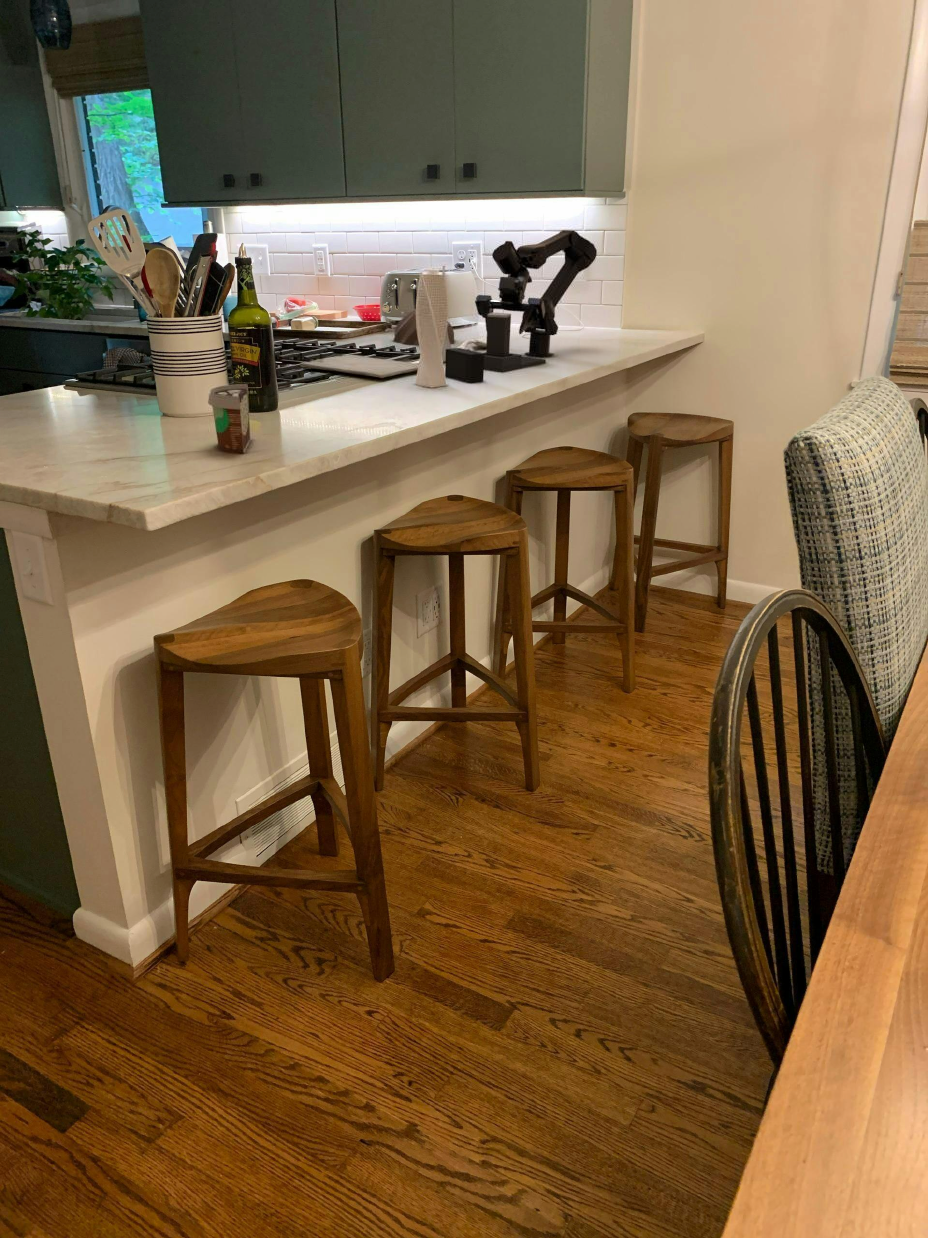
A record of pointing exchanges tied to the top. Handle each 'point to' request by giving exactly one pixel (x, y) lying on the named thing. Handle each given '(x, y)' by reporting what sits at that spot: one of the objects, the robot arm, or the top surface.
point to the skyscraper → (431, 327)
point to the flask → (445, 345)
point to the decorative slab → (362, 365)
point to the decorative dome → (413, 330)
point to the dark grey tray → (510, 362)
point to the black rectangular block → (464, 365)
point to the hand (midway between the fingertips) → (503, 331)
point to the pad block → (498, 334)
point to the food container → (231, 416)
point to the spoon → (475, 342)
